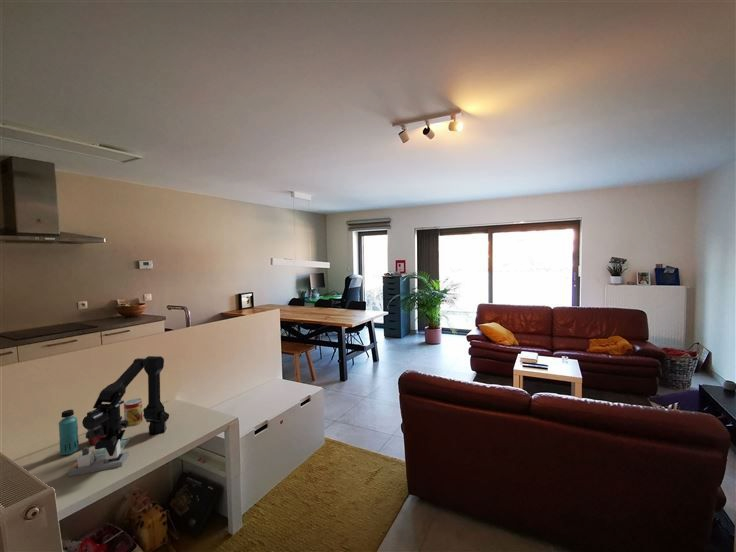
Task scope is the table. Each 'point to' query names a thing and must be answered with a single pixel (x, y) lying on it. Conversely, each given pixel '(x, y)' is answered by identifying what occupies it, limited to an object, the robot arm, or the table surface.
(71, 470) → the pdu strip
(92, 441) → the soda can
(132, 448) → the table surface
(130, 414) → the canned food
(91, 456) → the twin plug
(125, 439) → the tray
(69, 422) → the beverage bottle
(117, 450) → the plug
